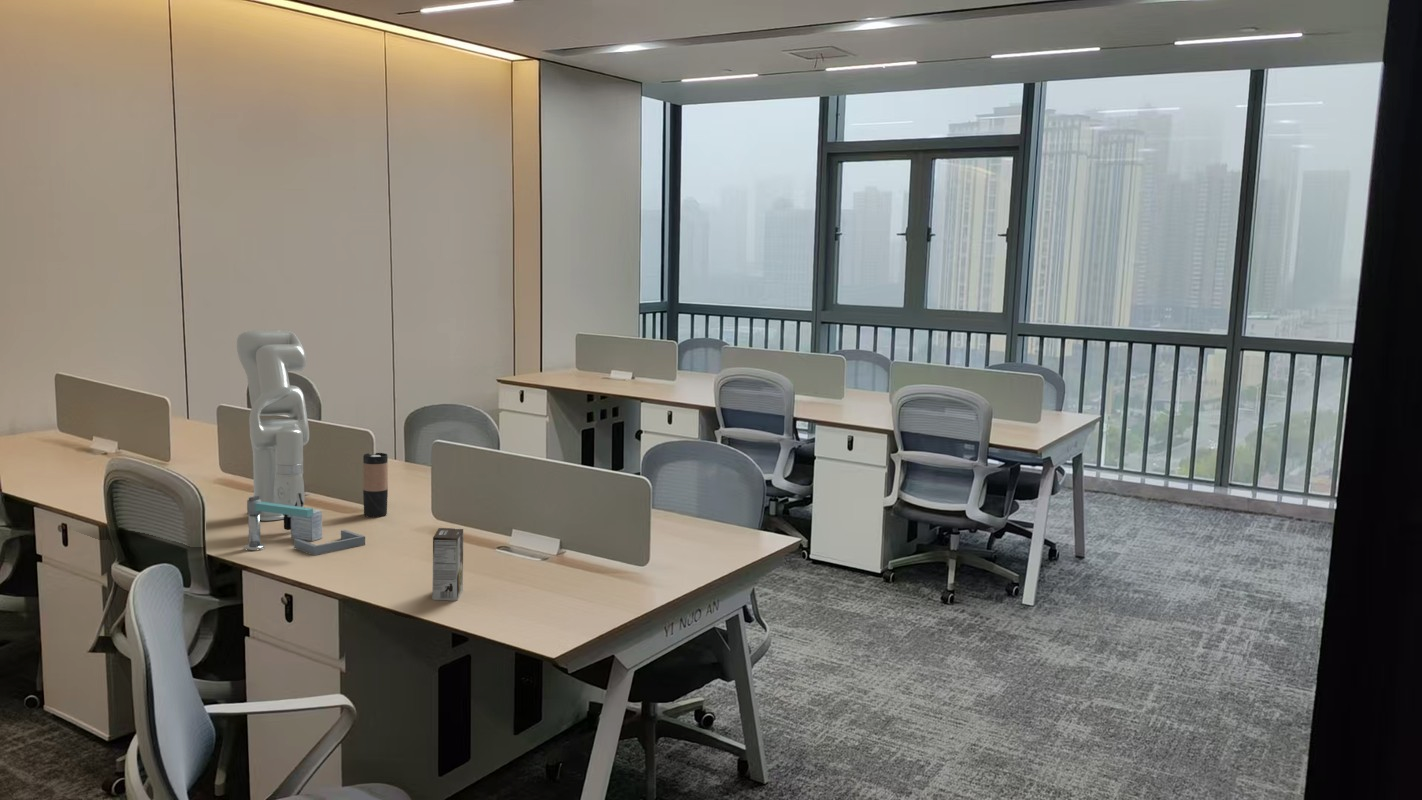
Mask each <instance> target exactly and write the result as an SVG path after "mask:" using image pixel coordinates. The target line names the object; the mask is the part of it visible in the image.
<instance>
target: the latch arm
mask: <svg viewBox="0 0 1422 800" xmlns="http://www.w3.org/2000/svg"><path fill="white" fill-rule="evenodd" d="M313 509H314V508H312V507H306V506H305V507H304V506H303V507H298V506H290V505H283V504H275V503H267V502H261V500H260V499H259V496H254V495H253V496H250V497H248V499H247V500H246V510H247V511H246V514H247V515H248V514H250V515H256V514H260V513H261V511H263V512H271V513H279V514H286V515H294V516H301V517H310V516H313Z"/></svg>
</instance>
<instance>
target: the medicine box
mask: <svg viewBox="0 0 1422 800" xmlns="http://www.w3.org/2000/svg"><path fill="white" fill-rule="evenodd" d="M322 513H323V511H322V509H317V508H316V509H314V508H313V516H310V517H301V516H294V515H291V530H290V538H291V539H294V540H295V539H300V540H303V541H306V542H307V541H308V542H315V541H318V540H320V539H323V514H322Z"/></svg>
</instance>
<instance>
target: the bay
mask: <svg viewBox="0 0 1422 800" xmlns="http://www.w3.org/2000/svg"><path fill="white" fill-rule="evenodd" d="M341 539H342V540H341ZM361 545H362V546H366V536H365V535H362V534H359V533H356V532H354V531H350V530H347V529H343V530H340V540H336V541H330V542H325V543H321V544H314V543H311V542H309V541H308V542H307V540H300V539H294V540H293V548H294V549H295V548H296V550H298V551H301V552H305V553H306V552H307V553H306V554H309V553H310V555H312V556H319V555H323V554H328V553H332V552H337V551H342V550H347V549H351V548H357V547H360V546H361ZM356 546H357V547H356Z"/></svg>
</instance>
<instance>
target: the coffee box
mask: <svg viewBox="0 0 1422 800" xmlns="http://www.w3.org/2000/svg"><path fill="white" fill-rule="evenodd" d="M463 589H464V528H452V527H451V528H450V527H440V528H438V529H437V531H436V532H435V534H434V536H432V601H458V599H460V595H461V594H462V591H463Z"/></svg>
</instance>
